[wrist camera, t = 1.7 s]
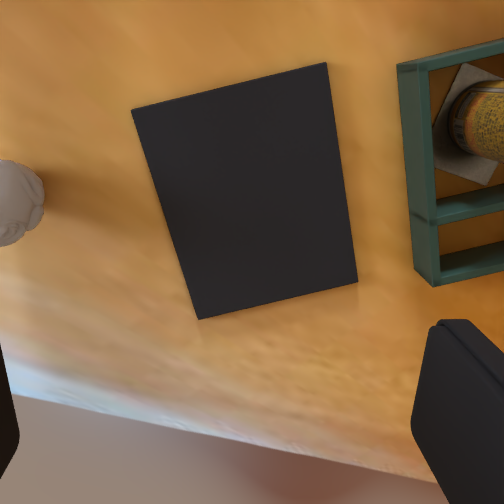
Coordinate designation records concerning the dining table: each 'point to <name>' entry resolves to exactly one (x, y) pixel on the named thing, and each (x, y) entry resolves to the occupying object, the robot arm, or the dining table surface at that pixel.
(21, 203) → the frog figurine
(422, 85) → the caddy
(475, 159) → the condiment
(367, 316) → the dining table surface
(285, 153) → the mat
